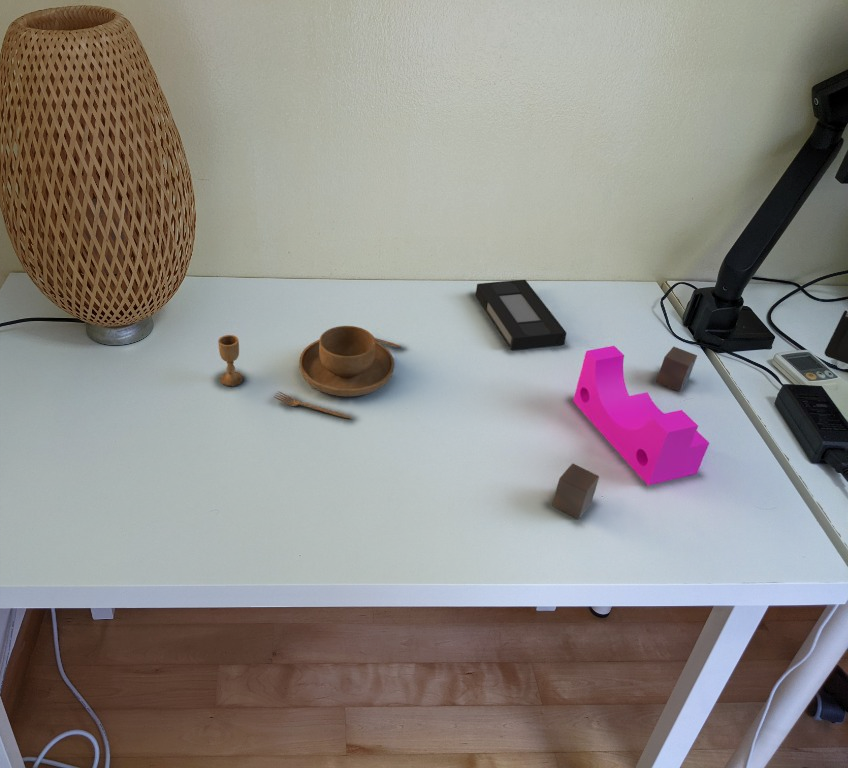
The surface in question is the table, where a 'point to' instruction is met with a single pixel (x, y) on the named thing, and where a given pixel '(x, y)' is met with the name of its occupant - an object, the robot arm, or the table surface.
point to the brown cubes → (582, 483)
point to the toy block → (637, 421)
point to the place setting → (330, 364)
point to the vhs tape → (520, 315)
